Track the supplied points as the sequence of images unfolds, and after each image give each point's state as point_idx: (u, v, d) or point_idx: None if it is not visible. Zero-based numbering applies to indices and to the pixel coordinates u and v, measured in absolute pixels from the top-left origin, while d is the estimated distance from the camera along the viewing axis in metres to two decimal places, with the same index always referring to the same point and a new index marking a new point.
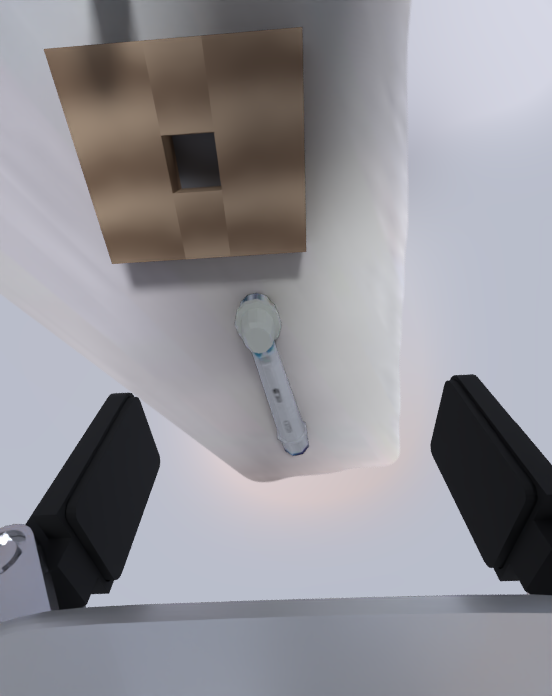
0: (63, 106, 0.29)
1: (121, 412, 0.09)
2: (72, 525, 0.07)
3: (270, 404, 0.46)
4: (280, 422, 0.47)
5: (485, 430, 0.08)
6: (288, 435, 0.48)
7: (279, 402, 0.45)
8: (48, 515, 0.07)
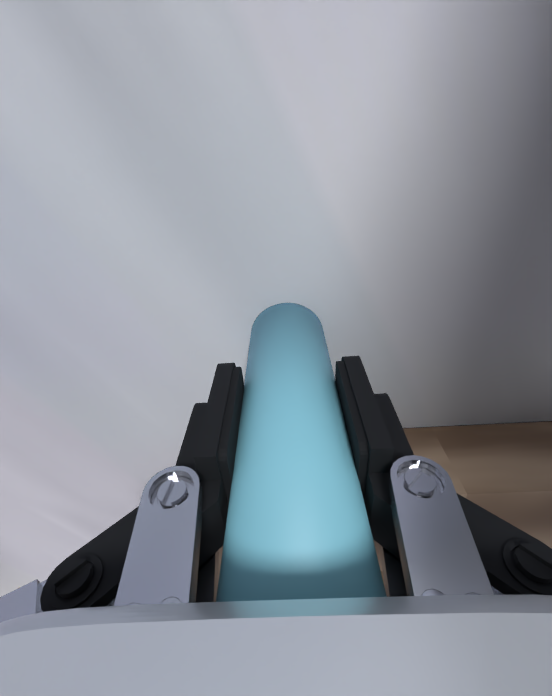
0: None
1: (233, 378, 0.10)
2: (222, 468, 0.08)
3: None
4: None
5: (348, 401, 0.09)
6: None
7: None
8: (208, 457, 0.08)
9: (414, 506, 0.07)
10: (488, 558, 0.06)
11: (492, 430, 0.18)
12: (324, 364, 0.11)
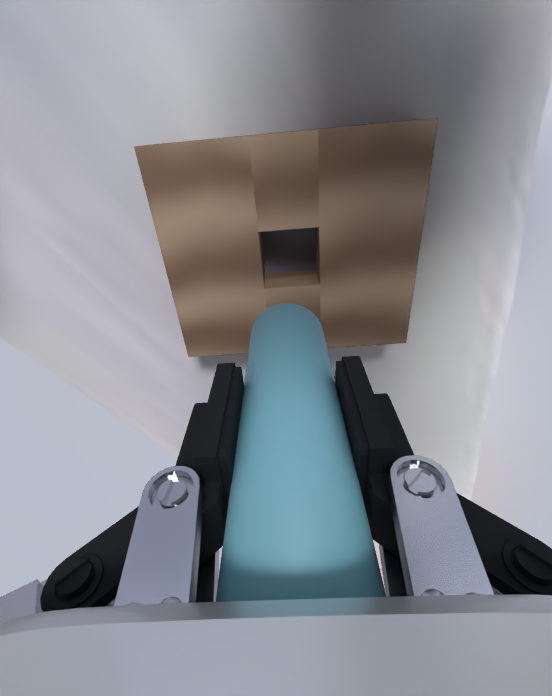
0: (150, 204, 0.25)
1: (233, 378, 0.10)
2: (222, 468, 0.08)
3: None
4: None
5: (348, 401, 0.09)
6: None
7: None
8: (208, 457, 0.08)
9: (414, 506, 0.07)
10: (488, 558, 0.06)
11: None
12: (324, 365, 0.11)
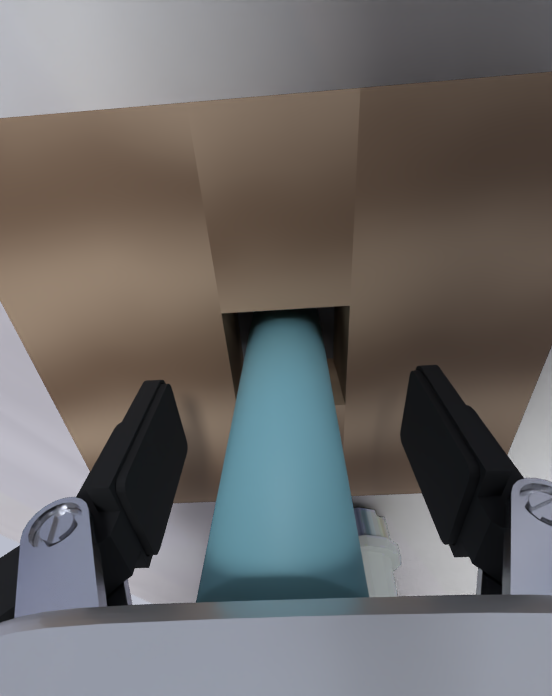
0: None
1: (156, 397, 0.10)
2: (121, 499, 0.08)
3: None
4: None
5: (440, 415, 0.08)
6: None
7: None
8: (101, 488, 0.07)
9: (533, 528, 0.06)
10: None
11: None
12: (316, 342, 0.13)
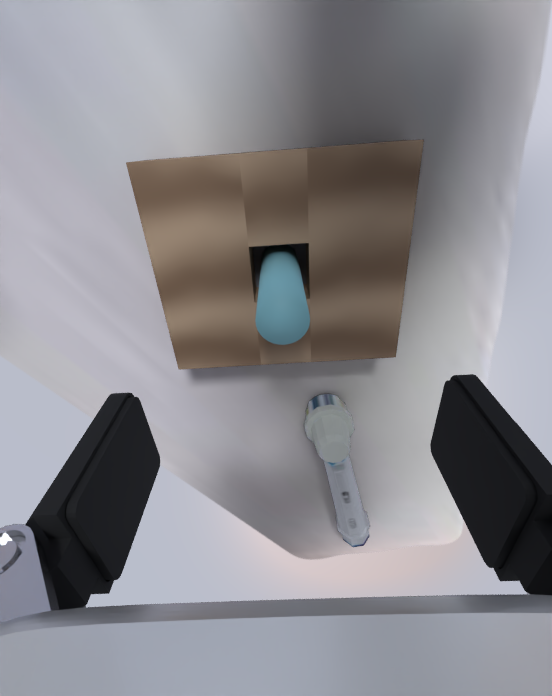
0: (142, 219, 0.25)
1: (121, 412, 0.09)
2: (72, 525, 0.07)
3: (335, 502, 0.43)
4: (344, 519, 0.44)
5: (485, 430, 0.08)
6: (351, 530, 0.45)
7: (347, 503, 0.41)
8: (48, 515, 0.07)
9: None
10: None
11: None
12: (294, 261, 0.27)
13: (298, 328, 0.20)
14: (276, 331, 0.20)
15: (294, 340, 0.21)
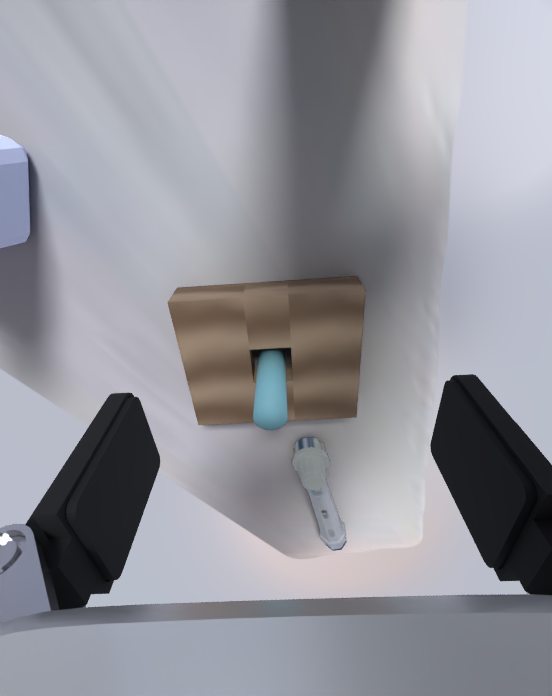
0: (176, 333, 0.37)
1: (121, 412, 0.09)
2: (72, 525, 0.07)
3: (317, 517, 0.55)
4: (325, 530, 0.56)
5: (485, 430, 0.08)
6: (331, 538, 0.57)
7: (325, 518, 0.53)
8: (48, 515, 0.07)
9: None
10: None
11: (314, 280, 0.38)
12: (281, 359, 0.38)
13: (280, 421, 0.32)
14: (266, 423, 0.32)
15: (278, 427, 0.33)
